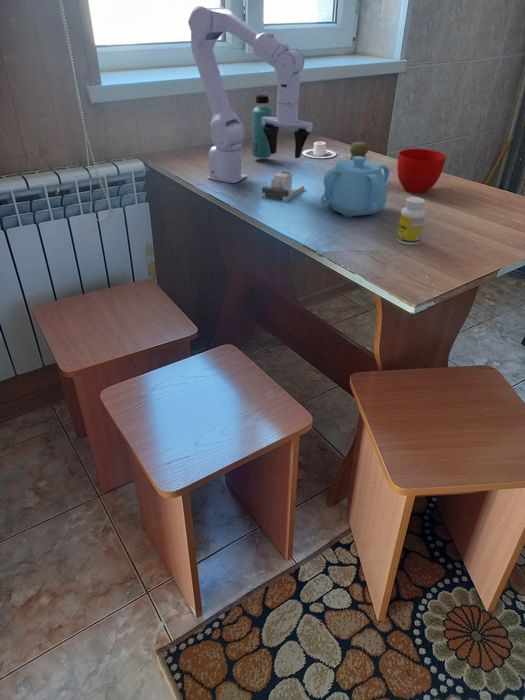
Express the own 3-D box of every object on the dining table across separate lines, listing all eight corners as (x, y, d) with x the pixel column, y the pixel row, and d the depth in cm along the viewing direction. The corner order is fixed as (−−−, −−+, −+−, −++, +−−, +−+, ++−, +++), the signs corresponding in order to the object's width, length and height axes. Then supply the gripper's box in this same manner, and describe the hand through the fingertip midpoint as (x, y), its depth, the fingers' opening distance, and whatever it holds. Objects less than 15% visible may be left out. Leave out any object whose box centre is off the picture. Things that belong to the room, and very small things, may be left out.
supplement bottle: (393, 236, 121) (400, 195, 116) (415, 236, 122) (423, 195, 116) (400, 245, 117) (407, 203, 111) (423, 245, 117) (432, 203, 112)
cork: (364, 184, 154) (369, 145, 147) (344, 182, 155) (348, 144, 148) (365, 178, 158) (370, 140, 152) (346, 176, 159) (350, 139, 153)
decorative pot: (311, 213, 133) (315, 160, 125) (336, 196, 144) (341, 145, 136) (371, 226, 126) (379, 170, 119) (392, 206, 138) (400, 154, 130)
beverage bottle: (274, 159, 174) (276, 94, 162) (264, 164, 169) (265, 97, 158) (258, 156, 177) (259, 92, 165) (248, 160, 172) (248, 95, 161)
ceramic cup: (452, 187, 152) (460, 152, 147) (424, 200, 142) (432, 163, 137) (413, 177, 160) (419, 144, 154) (384, 189, 149) (390, 154, 144)
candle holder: (302, 150, 186) (303, 137, 183) (336, 151, 185) (337, 139, 182) (301, 159, 176) (302, 146, 174) (336, 160, 175) (337, 147, 173)
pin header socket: (261, 196, 143) (261, 180, 140) (279, 185, 151) (280, 169, 149) (286, 201, 140) (287, 185, 137) (304, 189, 149) (305, 173, 146)
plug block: (273, 195, 144) (273, 174, 141) (280, 190, 148) (280, 170, 144) (284, 197, 143) (285, 176, 140) (291, 192, 146) (292, 172, 143)
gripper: (318, 102, 136) (314, 155, 144) (270, 97, 141) (269, 148, 149) (307, 107, 131) (304, 161, 139) (258, 101, 136) (257, 154, 144)
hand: (285, 155), depth 144 cm, fingers open, 7 cm apart
